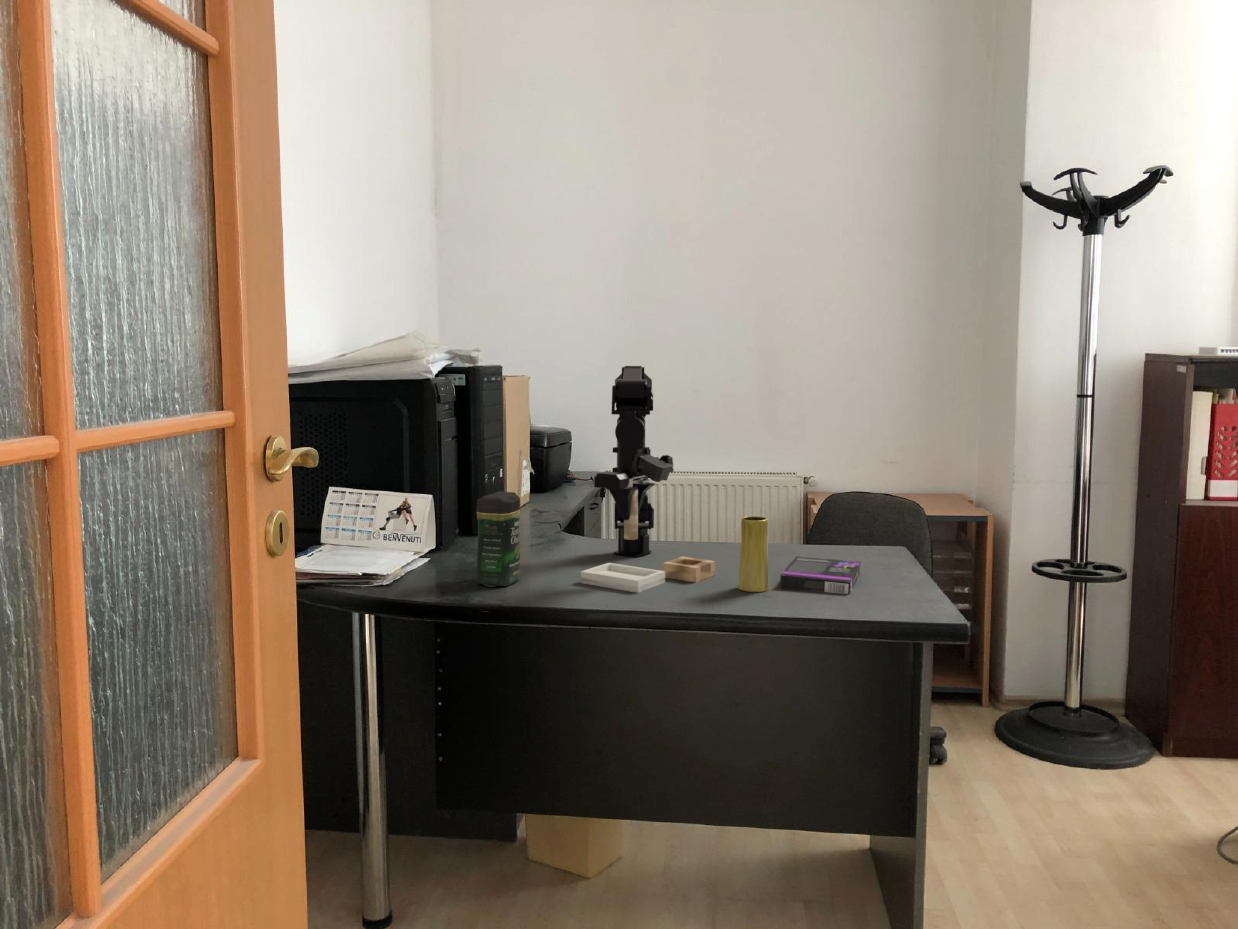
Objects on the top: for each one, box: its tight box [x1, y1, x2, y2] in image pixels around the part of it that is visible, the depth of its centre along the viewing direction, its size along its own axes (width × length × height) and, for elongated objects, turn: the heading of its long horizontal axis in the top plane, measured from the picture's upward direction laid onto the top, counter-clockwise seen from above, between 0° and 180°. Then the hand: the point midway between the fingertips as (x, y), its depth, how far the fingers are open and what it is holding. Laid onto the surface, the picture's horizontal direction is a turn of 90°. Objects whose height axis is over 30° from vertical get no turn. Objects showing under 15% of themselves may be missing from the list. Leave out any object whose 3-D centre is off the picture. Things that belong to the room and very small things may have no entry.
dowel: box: [624, 490, 638, 540], centre depth 201 cm, size 3×3×10 cm
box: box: [779, 556, 861, 595], centre depth 205 cm, size 14×4×20 cm
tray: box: [580, 562, 666, 594], centre depth 202 cm, size 14×10×2 cm
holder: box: [662, 556, 716, 583], centre depth 208 cm, size 8×8×3 cm
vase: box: [737, 515, 769, 593], centre depth 197 cm, size 6×6×14 cm
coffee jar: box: [476, 490, 522, 588], centre depth 201 cm, size 10×8×19 cm
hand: (630, 518), depth 201 cm, fingers closed on dowel, 3 cm apart
